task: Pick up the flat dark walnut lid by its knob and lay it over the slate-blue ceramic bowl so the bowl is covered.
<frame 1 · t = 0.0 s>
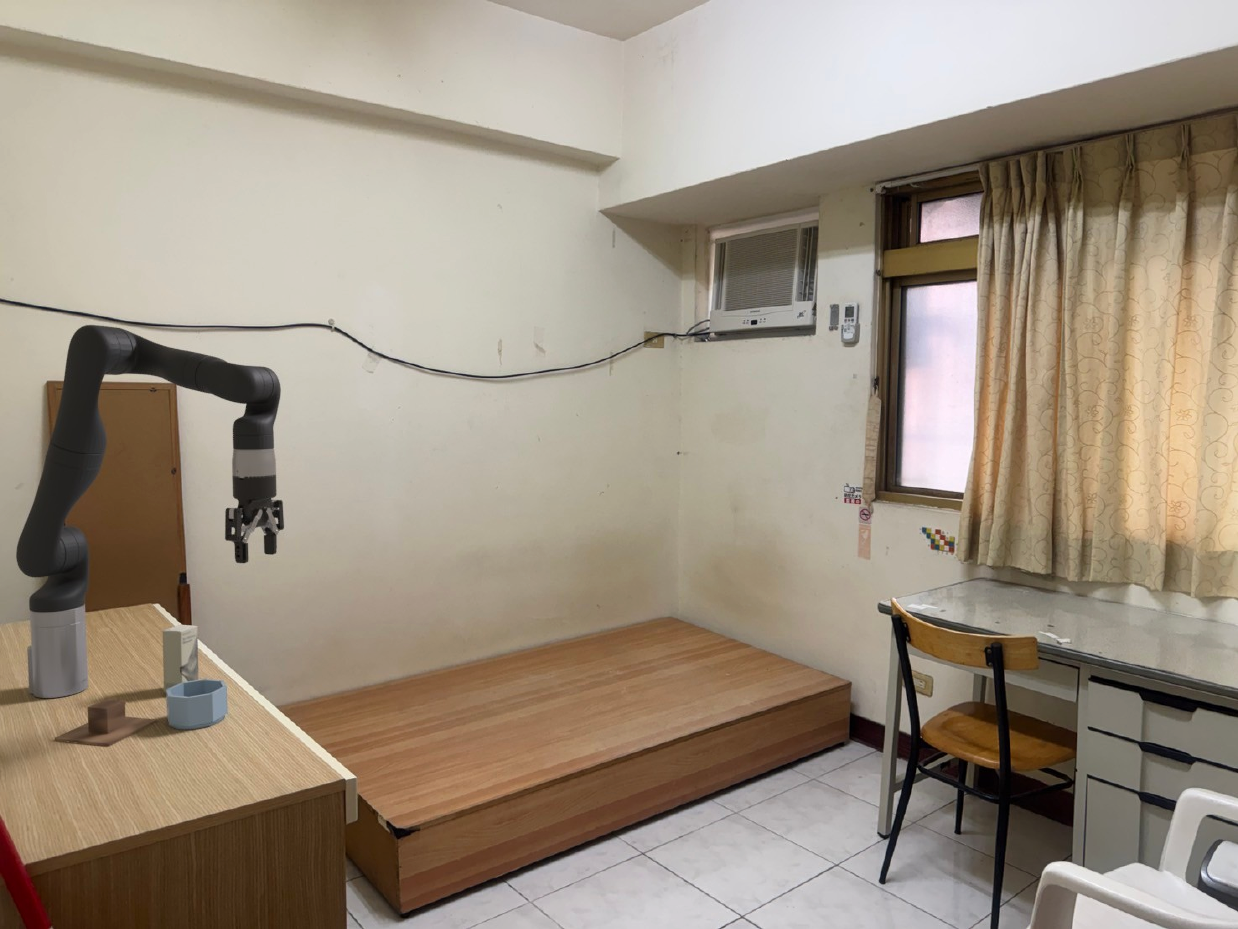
hand: (256, 558, 156), 29 cm above the table, tool pointing down, fingers open, 8 cm apart
box: (182, 690, 168), on the table
bowl: (197, 719, 153), on the table
lid: (107, 733, 148), on the table
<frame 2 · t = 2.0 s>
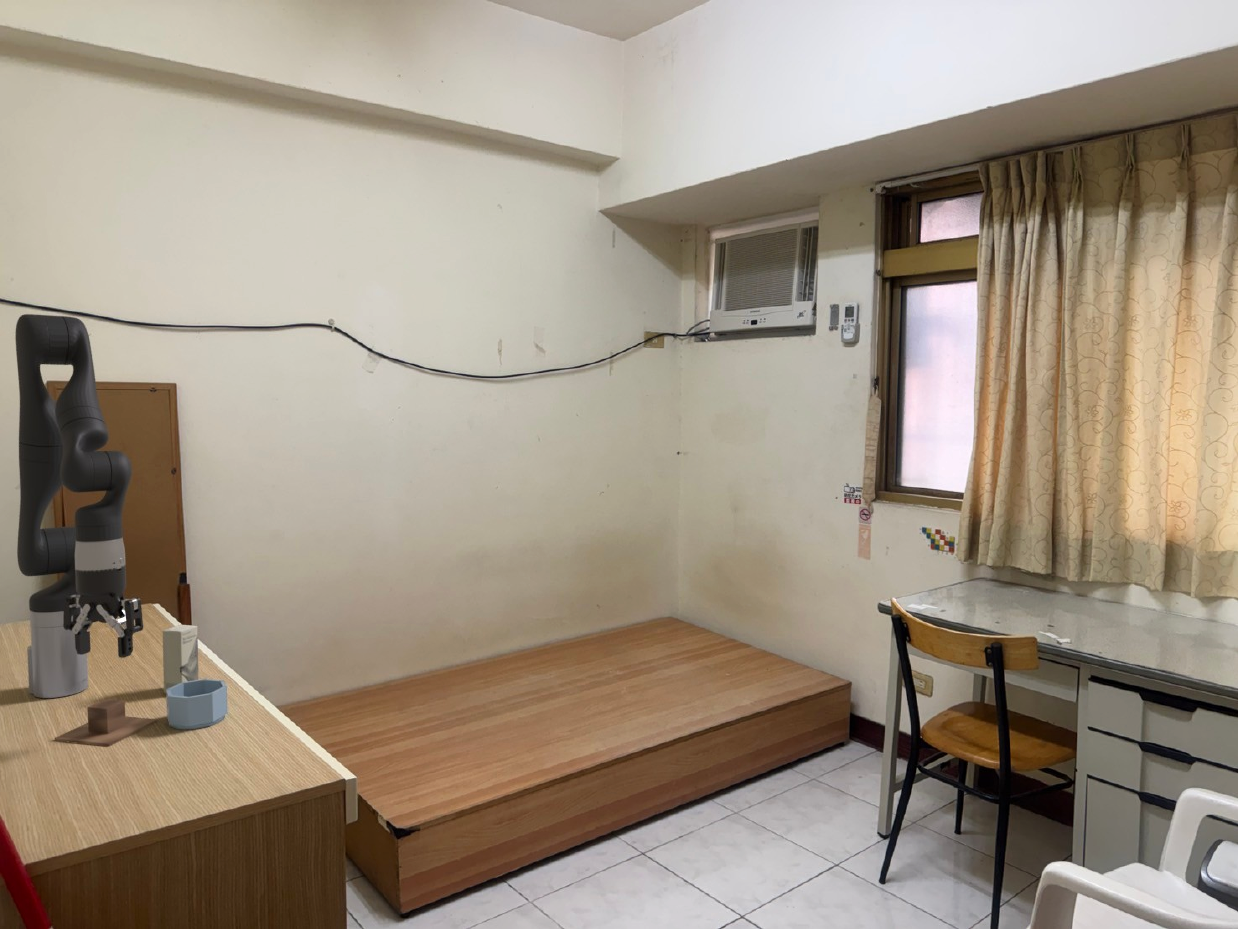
hand: (104, 655, 146), 14 cm above the table, tool pointing down, fingers open, 8 cm apart
nothing on the table moved.
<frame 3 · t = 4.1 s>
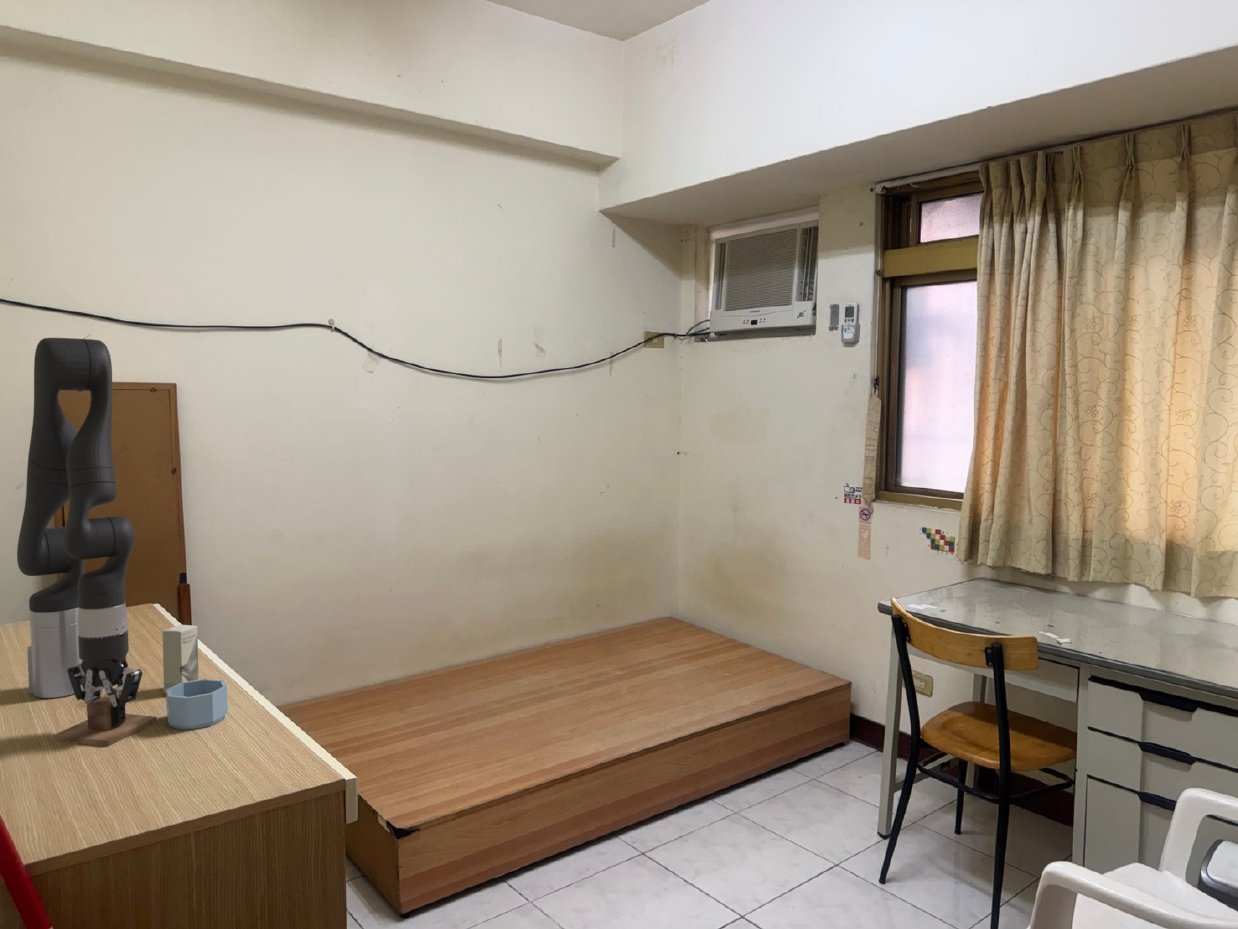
hand: (106, 723, 147), 1 cm above the table, tool pointing down, fingers closed on lid, 4 cm apart
lid: (106, 731, 148), on the table, touching gripper
everything else where it was.
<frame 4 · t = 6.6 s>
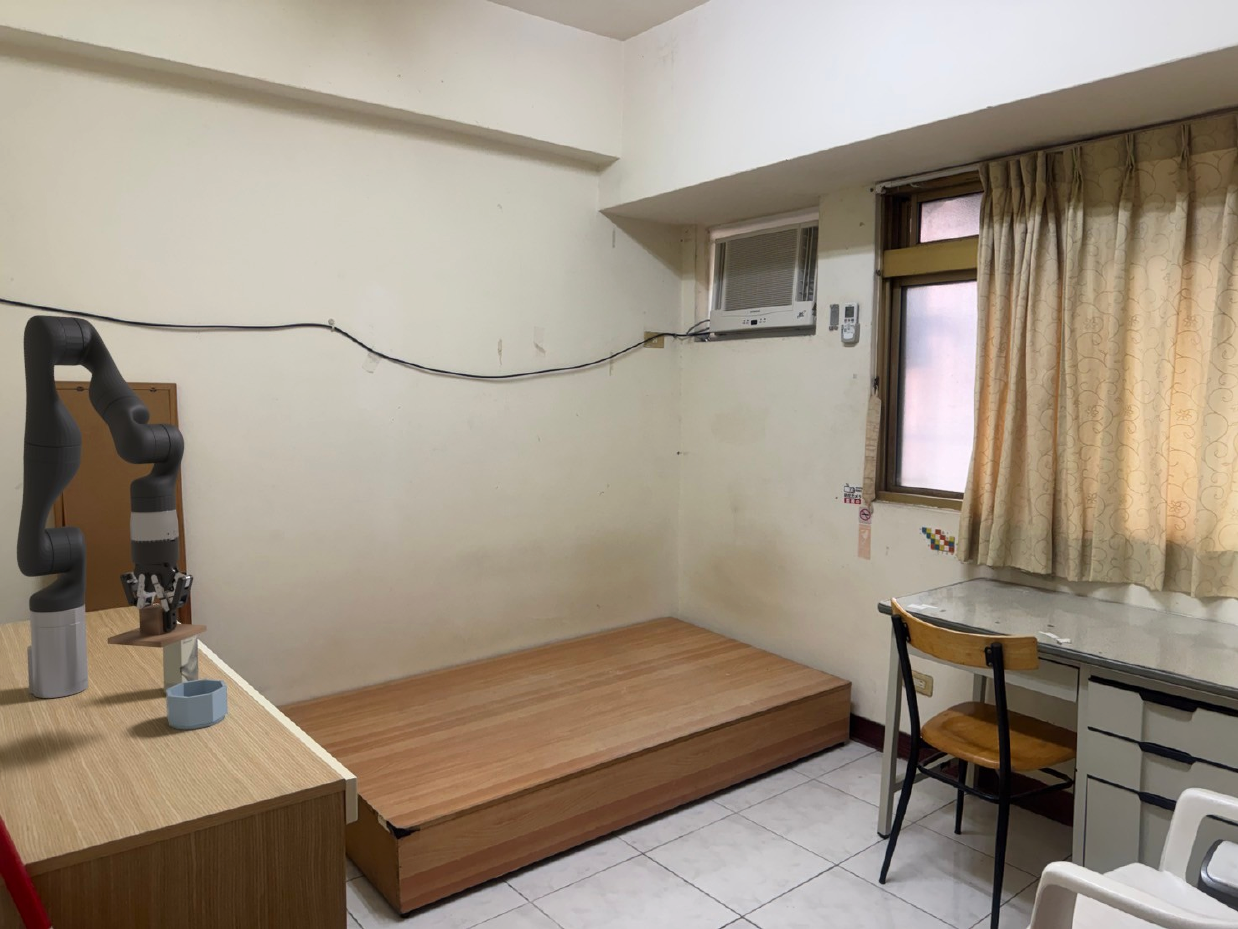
hand: (158, 629, 149), 18 cm above the table, tool pointing down, fingers closed on lid, 4 cm apart
lid: (158, 637, 149), point 16 cm above the table, touching gripper
everything else where it was.
when the fingers open (9 cm above the table, at t = 9.3 s): lid drops 1 cm, resting on bowl.
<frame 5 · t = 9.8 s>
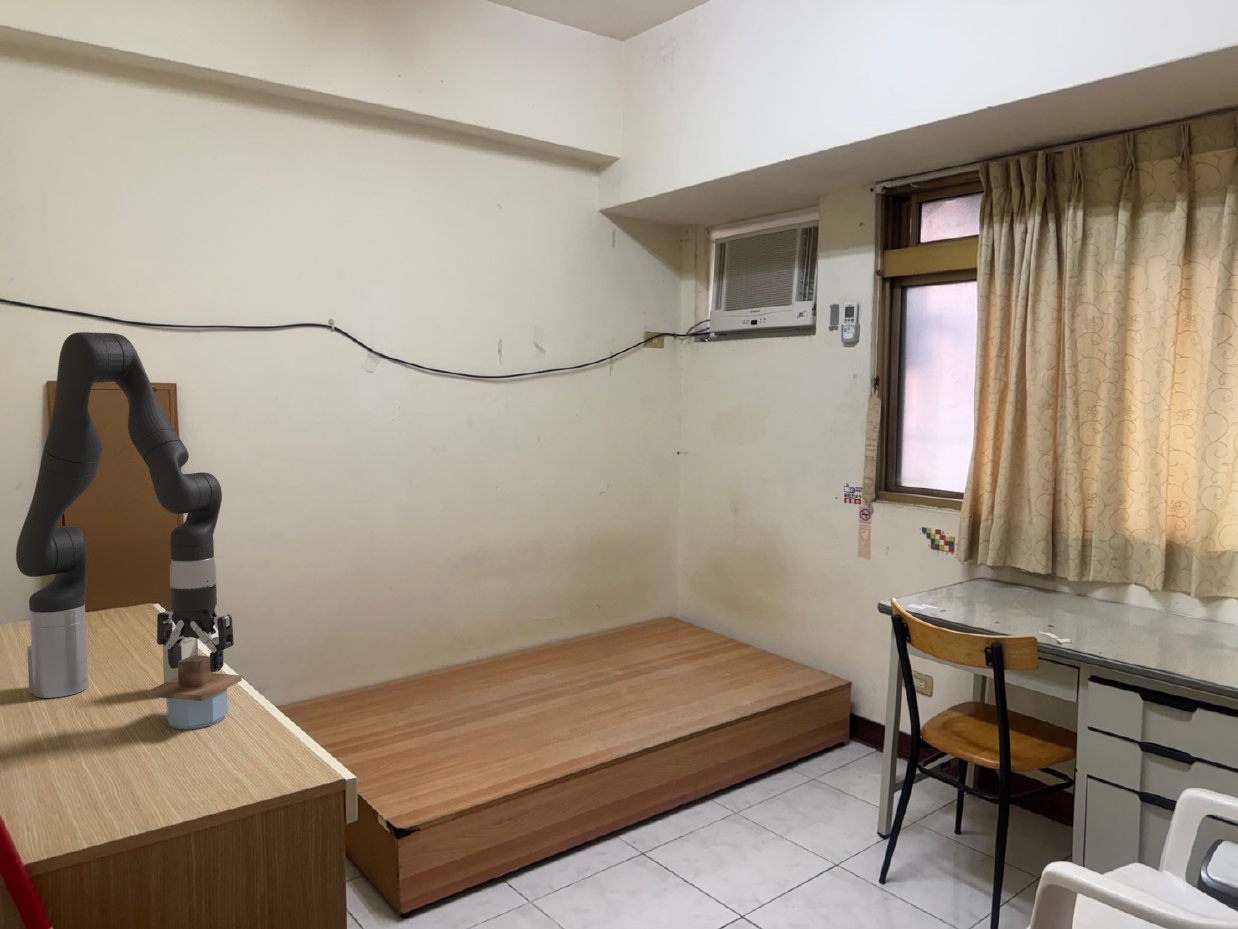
hand: (196, 669, 152), 10 cm above the table, tool pointing down, fingers open, 8 cm apart
lid: (196, 688, 152), point 6 cm above the table, touching bowl
everything else where it was.
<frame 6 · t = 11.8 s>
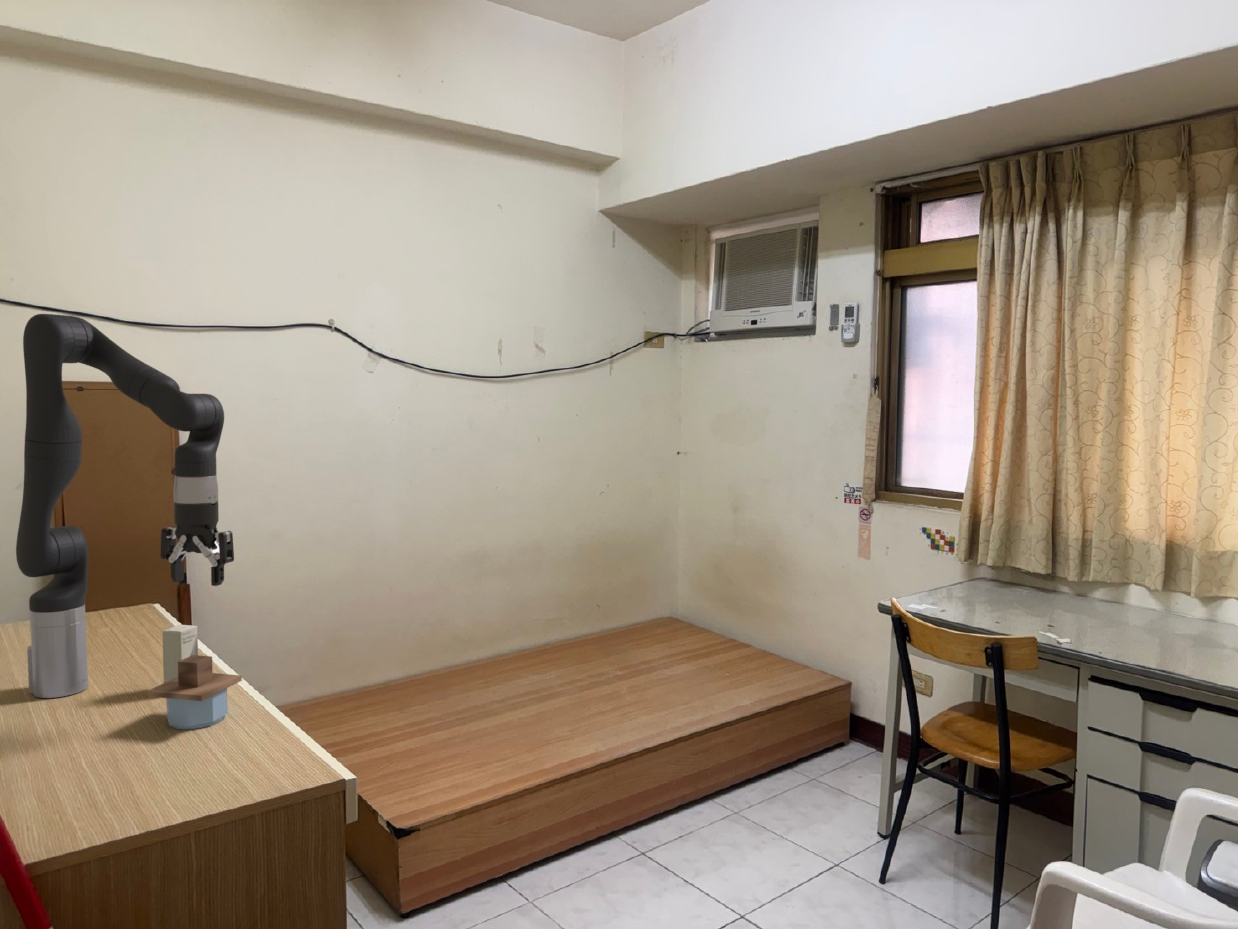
hand: (197, 583, 158), 24 cm above the table, tool pointing down, fingers open, 8 cm apart
nothing on the table moved.
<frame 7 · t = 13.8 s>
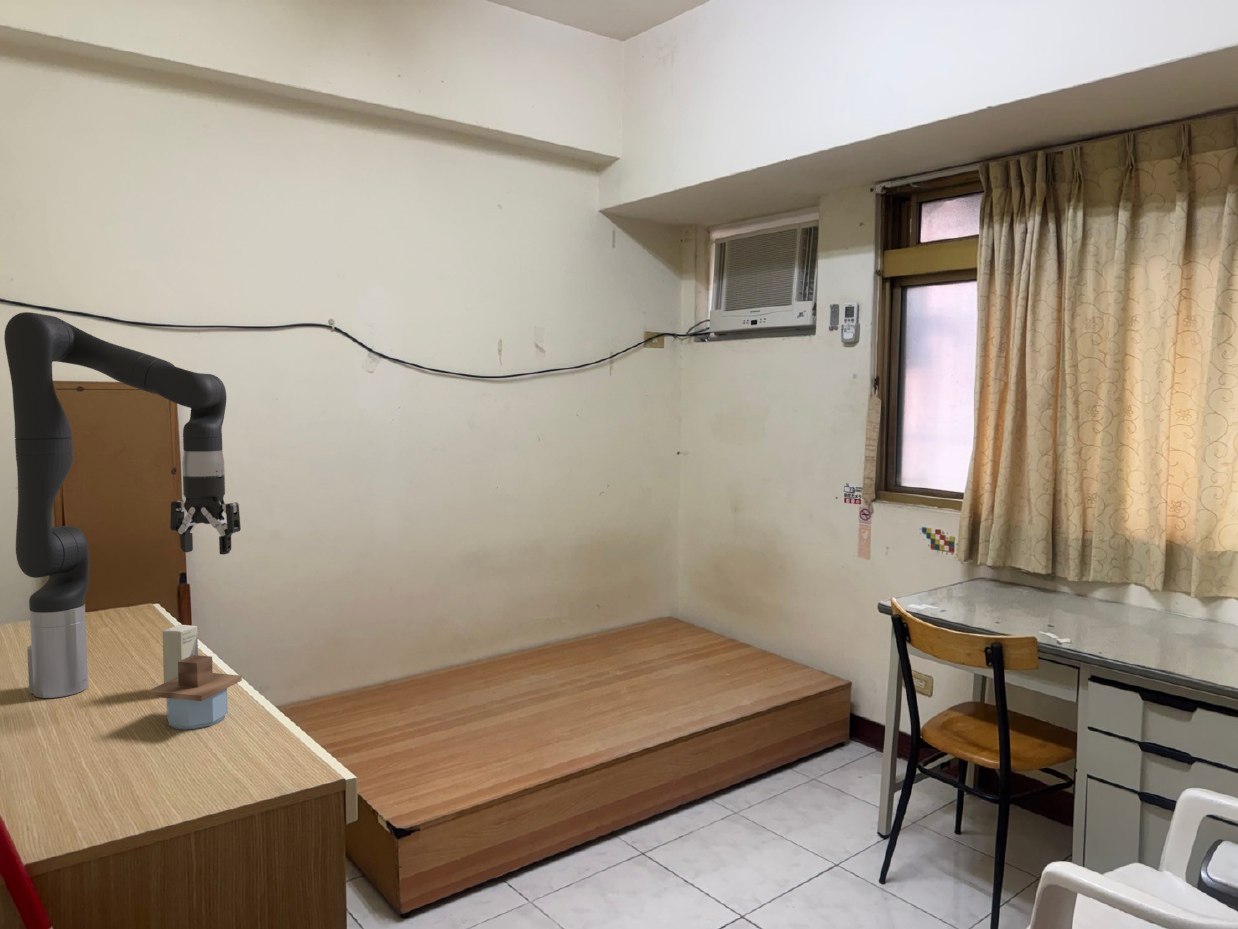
hand: (206, 552, 167), 28 cm above the table, tool pointing down, fingers open, 8 cm apart
nothing on the table moved.
at the end: lid 0.1 cm off-centre on the bowl, point 6.0 cm above the bowl's base; lid tilted 0°; the gripper is holding nothing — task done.
